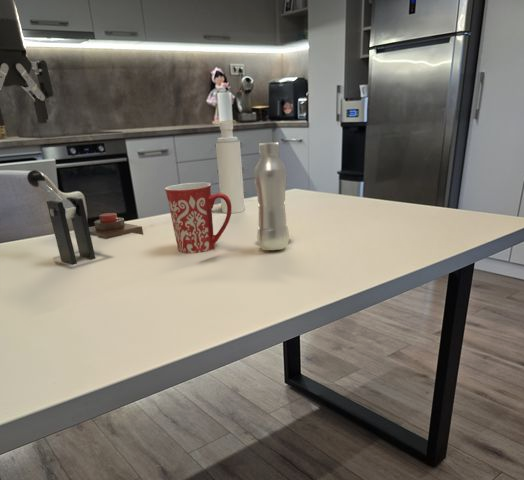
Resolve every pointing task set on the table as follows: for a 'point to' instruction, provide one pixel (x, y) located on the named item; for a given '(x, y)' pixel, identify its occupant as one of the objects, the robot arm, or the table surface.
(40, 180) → the tap lever
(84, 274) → the table surface
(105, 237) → the button block
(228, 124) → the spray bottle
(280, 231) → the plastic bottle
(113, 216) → the button
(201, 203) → the mug
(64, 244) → the bracket
